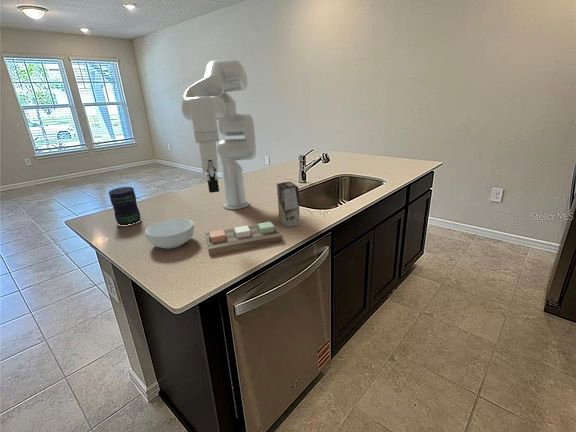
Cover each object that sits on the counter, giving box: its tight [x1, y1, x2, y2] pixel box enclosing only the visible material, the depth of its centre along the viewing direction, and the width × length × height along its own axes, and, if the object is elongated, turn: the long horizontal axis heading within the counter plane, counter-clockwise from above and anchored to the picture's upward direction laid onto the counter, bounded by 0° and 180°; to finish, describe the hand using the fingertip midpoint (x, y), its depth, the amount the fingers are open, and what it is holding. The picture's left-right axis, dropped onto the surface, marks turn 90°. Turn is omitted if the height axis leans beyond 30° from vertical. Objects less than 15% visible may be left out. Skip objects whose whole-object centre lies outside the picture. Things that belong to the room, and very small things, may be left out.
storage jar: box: [108, 186, 142, 225], centre depth 136 cm, size 10×10×15 cm
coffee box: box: [276, 181, 301, 228], centre depth 126 cm, size 9×6×16 cm
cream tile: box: [233, 225, 251, 239], centre depth 114 cm, size 5×5×3 cm
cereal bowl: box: [144, 218, 195, 250], centre depth 115 cm, size 17×17×7 cm
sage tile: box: [257, 221, 274, 234], centre depth 117 cm, size 5×5×3 cm
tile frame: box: [204, 221, 283, 256], centre depth 115 cm, size 14×26×2 cm, turn 108°
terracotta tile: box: [209, 229, 226, 243], centre depth 112 cm, size 5×5×3 cm
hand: (213, 188), depth 106 cm, fingers open, 9 cm apart
